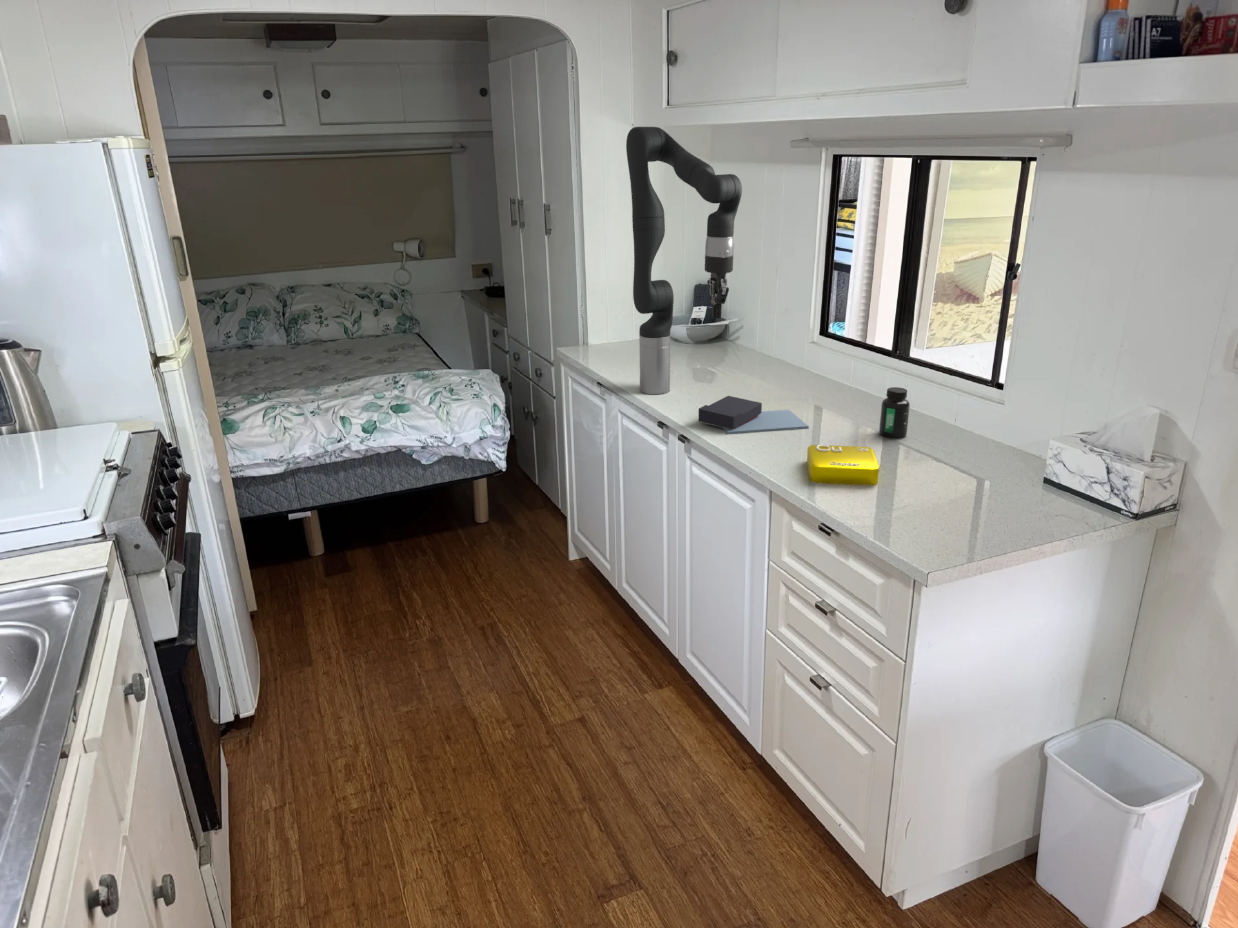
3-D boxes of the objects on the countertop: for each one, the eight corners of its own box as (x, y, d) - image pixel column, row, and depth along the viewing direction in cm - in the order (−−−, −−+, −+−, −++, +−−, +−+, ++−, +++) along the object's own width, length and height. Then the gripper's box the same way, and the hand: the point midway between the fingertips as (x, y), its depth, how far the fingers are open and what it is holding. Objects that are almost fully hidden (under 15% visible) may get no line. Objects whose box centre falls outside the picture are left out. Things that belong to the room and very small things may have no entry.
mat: (712, 417, 237) (712, 414, 237) (788, 411, 240) (788, 409, 240) (727, 434, 223) (728, 431, 223) (808, 428, 226) (808, 426, 226)
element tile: (809, 484, 191) (811, 464, 189) (806, 461, 205) (807, 442, 203) (879, 487, 189) (881, 467, 187) (871, 463, 203) (872, 444, 201)
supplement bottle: (890, 440, 216) (895, 394, 212) (873, 432, 222) (877, 387, 218) (912, 436, 219) (917, 391, 214) (894, 429, 225) (899, 384, 220)
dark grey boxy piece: (727, 407, 241) (697, 423, 230) (728, 393, 239) (697, 408, 228) (761, 415, 234) (732, 432, 224) (762, 400, 233) (733, 416, 222)
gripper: (699, 250, 233) (696, 313, 240) (712, 257, 221) (709, 324, 228) (725, 249, 235) (722, 312, 241) (740, 257, 222) (736, 323, 229)
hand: (716, 318), depth 234 cm, fingers closed
